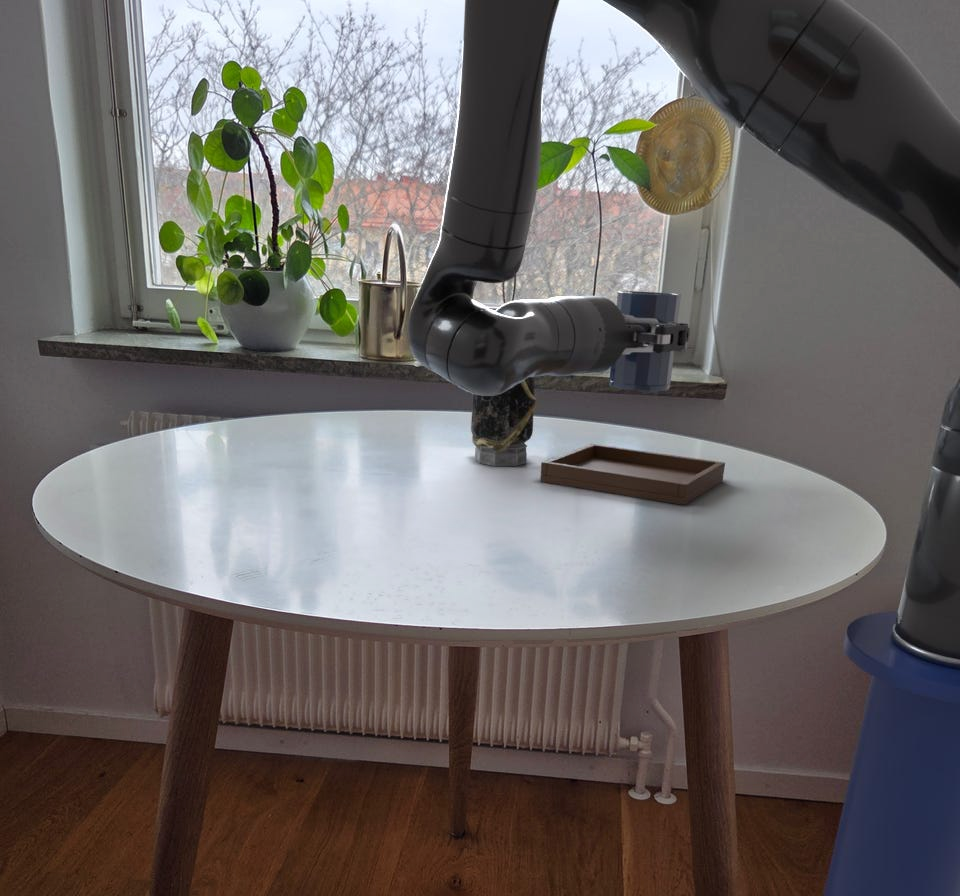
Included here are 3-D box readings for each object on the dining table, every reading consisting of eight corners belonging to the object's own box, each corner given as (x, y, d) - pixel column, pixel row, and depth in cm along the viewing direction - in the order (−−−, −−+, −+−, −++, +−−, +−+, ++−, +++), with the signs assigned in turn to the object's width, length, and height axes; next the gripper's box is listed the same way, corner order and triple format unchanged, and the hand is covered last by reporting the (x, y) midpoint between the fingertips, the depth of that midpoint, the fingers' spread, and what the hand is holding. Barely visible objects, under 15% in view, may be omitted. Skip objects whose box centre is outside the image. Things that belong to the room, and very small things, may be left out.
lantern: (464, 453, 123) (471, 248, 113) (524, 453, 125) (536, 250, 115) (476, 468, 115) (484, 248, 106) (540, 468, 117) (554, 251, 107)
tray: (722, 481, 114) (725, 462, 113) (684, 505, 102) (686, 484, 101) (590, 461, 122) (591, 443, 121) (539, 481, 110) (541, 462, 109)
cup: (677, 387, 107) (688, 294, 103) (657, 393, 102) (668, 295, 98) (622, 380, 110) (631, 290, 106) (599, 386, 105) (608, 291, 101)
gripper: (637, 301, 88) (717, 299, 100) (517, 291, 96) (604, 291, 108) (629, 383, 91) (708, 372, 103) (512, 367, 99) (598, 358, 111)
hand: (654, 330), depth 105 cm, fingers closed on cup, 7 cm apart
